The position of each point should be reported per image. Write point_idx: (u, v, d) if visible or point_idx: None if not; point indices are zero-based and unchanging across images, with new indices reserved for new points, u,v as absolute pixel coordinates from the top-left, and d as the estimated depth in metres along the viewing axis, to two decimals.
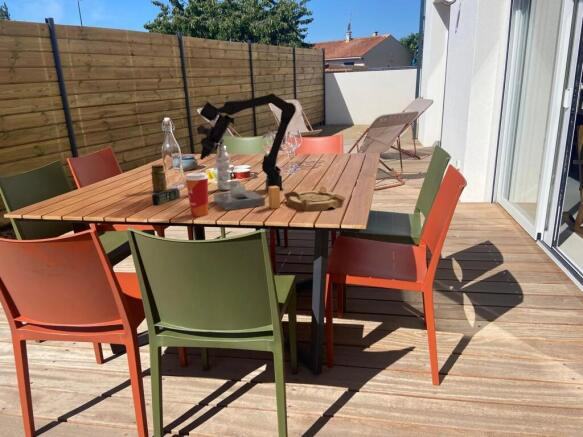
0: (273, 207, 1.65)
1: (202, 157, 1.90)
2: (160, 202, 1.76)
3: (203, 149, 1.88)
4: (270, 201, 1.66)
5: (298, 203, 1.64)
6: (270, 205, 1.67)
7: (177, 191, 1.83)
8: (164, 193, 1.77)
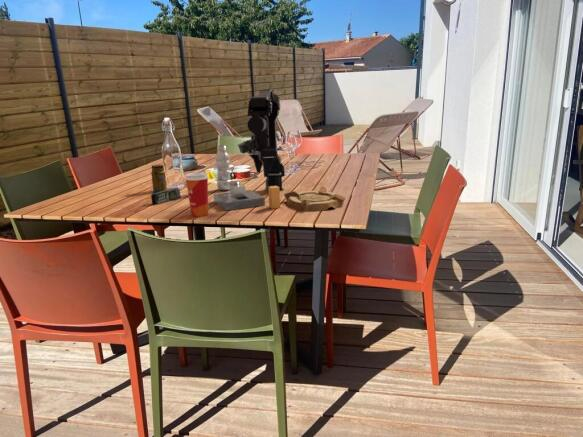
0: (273, 207, 1.65)
1: (267, 173, 1.59)
2: (159, 201, 1.76)
3: (264, 163, 1.57)
4: (270, 201, 1.66)
5: (298, 203, 1.64)
6: (270, 205, 1.67)
7: (177, 191, 1.83)
8: (163, 192, 1.78)
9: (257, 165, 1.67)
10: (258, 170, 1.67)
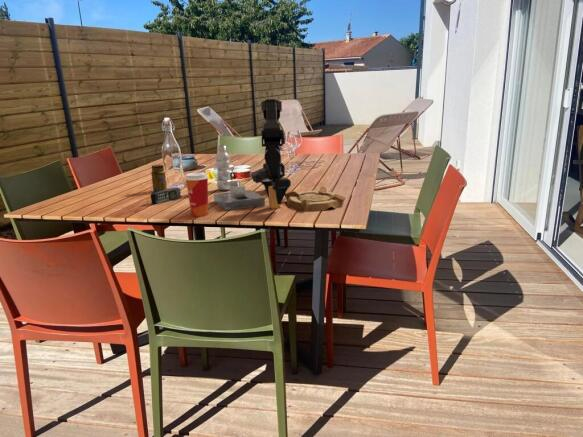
0: (273, 207, 1.65)
1: (280, 201, 1.62)
2: (158, 201, 1.77)
3: (278, 193, 1.60)
4: (270, 201, 1.66)
5: (298, 203, 1.64)
6: (270, 205, 1.67)
7: (178, 191, 1.83)
8: (163, 192, 1.78)
9: (268, 192, 1.70)
10: None
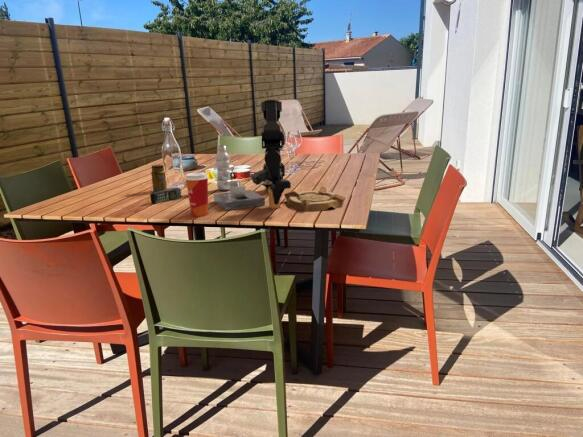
0: (273, 207, 1.65)
1: (277, 201, 1.65)
2: (158, 201, 1.78)
3: (275, 193, 1.62)
4: (270, 201, 1.66)
5: (298, 203, 1.64)
6: (270, 205, 1.67)
7: (178, 191, 1.84)
8: (163, 192, 1.79)
9: None
10: None
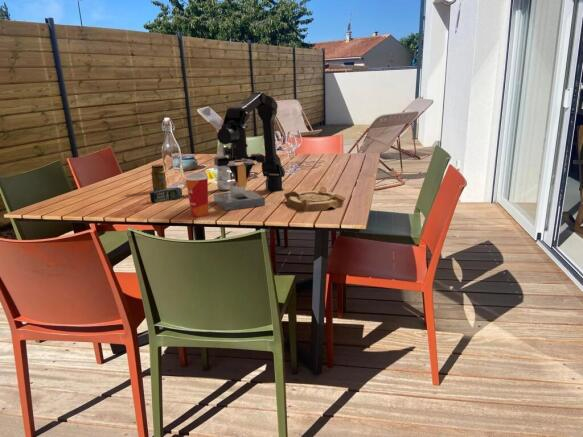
0: (236, 184, 1.69)
1: (235, 179, 1.67)
2: (158, 200, 1.79)
3: (231, 170, 1.67)
4: None
5: (298, 203, 1.64)
6: None
7: (179, 190, 1.84)
8: (163, 192, 1.80)
9: None
10: None
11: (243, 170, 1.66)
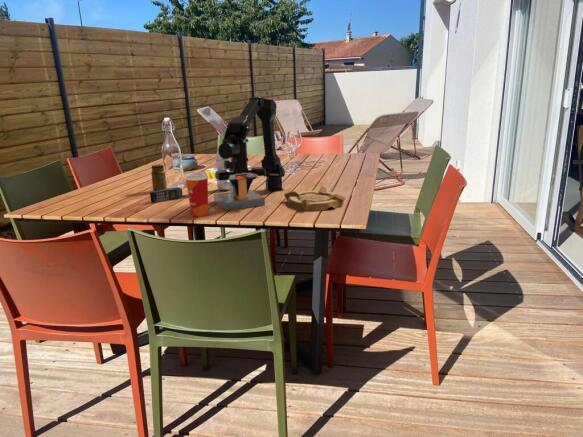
0: (237, 197, 1.71)
1: (236, 193, 1.69)
2: (157, 200, 1.79)
3: (232, 183, 1.68)
4: None
5: (298, 203, 1.64)
6: None
7: (179, 190, 1.84)
8: (163, 191, 1.80)
9: None
10: None
11: (244, 184, 1.68)
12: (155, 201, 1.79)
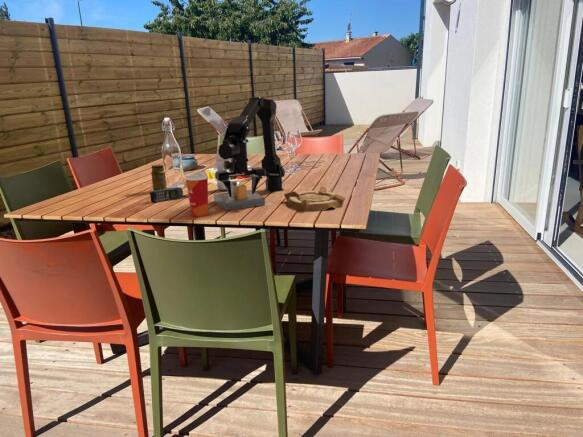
0: None
1: (229, 194, 1.68)
2: (157, 199, 1.80)
3: (225, 185, 1.67)
4: None
5: (298, 203, 1.64)
6: None
7: (179, 190, 1.84)
8: (163, 191, 1.80)
9: (252, 186, 1.72)
10: (252, 191, 1.72)
11: (244, 190, 1.68)
12: (155, 201, 1.79)
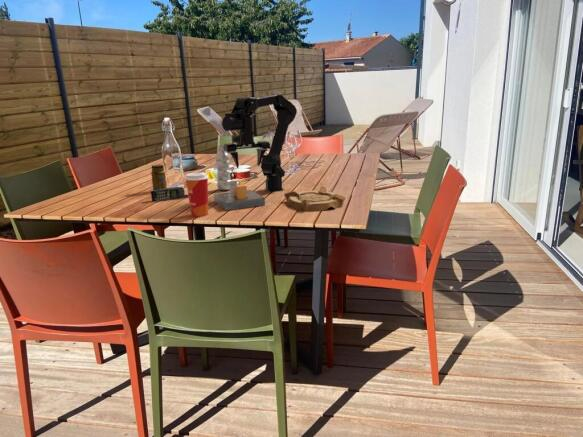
0: None
1: (236, 165, 1.80)
2: (158, 199, 1.81)
3: (233, 156, 1.80)
4: None
5: (298, 203, 1.64)
6: None
7: (181, 190, 1.84)
8: (163, 190, 1.82)
9: (258, 159, 1.85)
10: (257, 163, 1.85)
11: (244, 190, 1.68)
12: (155, 200, 1.81)
